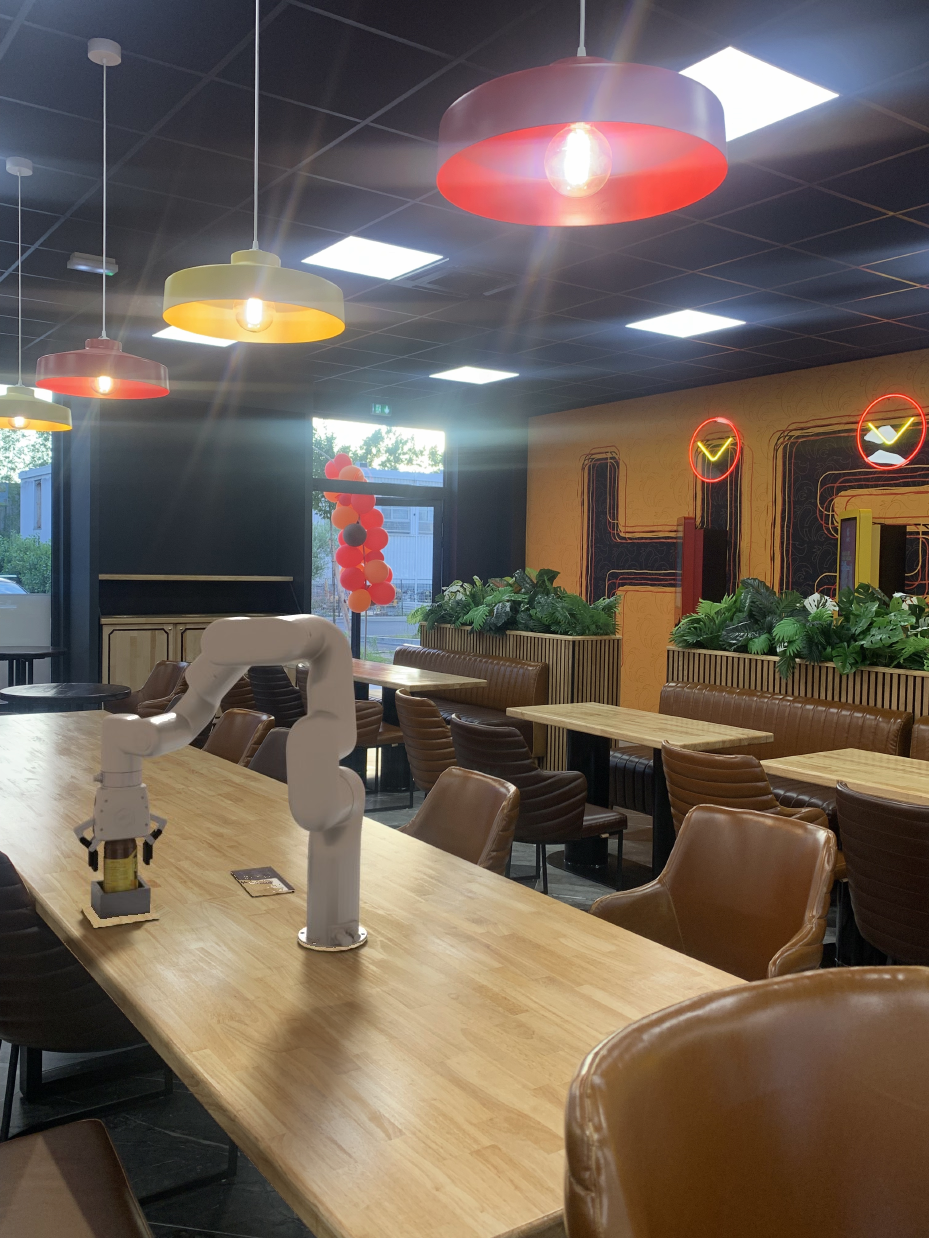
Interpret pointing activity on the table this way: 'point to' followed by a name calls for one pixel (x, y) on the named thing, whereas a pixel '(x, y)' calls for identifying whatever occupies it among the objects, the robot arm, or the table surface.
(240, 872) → the chocolate bar
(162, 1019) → the table surface
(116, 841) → the sauce bottle
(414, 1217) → the table surface
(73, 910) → the table surface
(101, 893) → the condiment holder
